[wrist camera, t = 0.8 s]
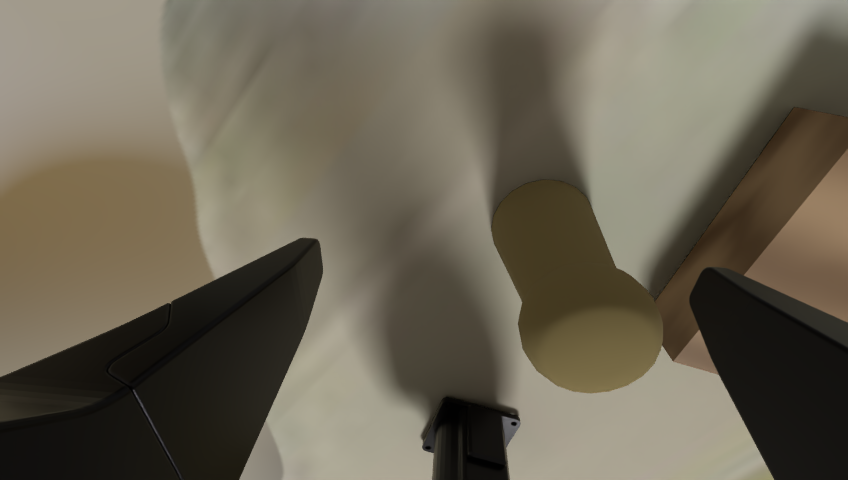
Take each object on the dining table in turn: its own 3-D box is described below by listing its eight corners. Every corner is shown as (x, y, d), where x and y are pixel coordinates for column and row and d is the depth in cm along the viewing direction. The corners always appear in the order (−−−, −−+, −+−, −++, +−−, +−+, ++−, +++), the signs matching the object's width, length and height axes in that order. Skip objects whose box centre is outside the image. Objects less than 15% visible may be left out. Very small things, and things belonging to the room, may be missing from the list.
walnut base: (831, 372, 26) (889, 423, 23) (643, 317, 26) (673, 361, 22) (1036, 188, 20) (1160, 219, 16) (794, 107, 19) (869, 121, 16)
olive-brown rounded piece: (471, 221, 24) (479, 347, 14) (557, 157, 21) (639, 254, 12) (528, 285, 25) (572, 438, 16) (613, 233, 23) (725, 372, 13)
